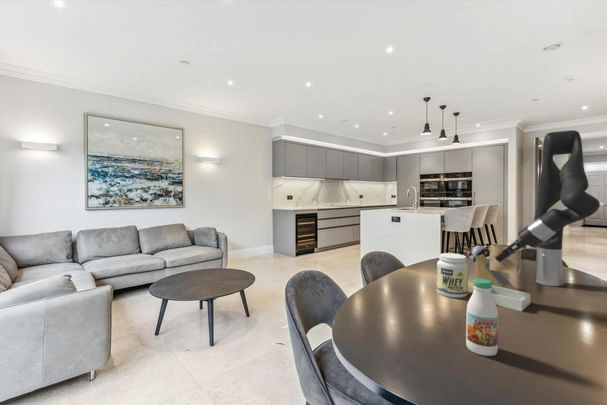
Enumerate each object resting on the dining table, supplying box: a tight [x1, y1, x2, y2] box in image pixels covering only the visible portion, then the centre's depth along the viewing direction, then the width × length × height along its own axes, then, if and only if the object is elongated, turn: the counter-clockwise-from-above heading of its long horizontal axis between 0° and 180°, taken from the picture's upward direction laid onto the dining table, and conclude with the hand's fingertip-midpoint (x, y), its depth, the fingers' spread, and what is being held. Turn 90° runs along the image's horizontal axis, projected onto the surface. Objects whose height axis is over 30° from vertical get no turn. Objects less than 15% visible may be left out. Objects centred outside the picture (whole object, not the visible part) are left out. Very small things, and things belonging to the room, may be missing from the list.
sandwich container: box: [475, 254, 519, 291], centre depth 133 cm, size 9×15×15 cm, turn 41°
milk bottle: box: [465, 278, 499, 357], centre depth 84 cm, size 8×8×20 cm
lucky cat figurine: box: [466, 243, 490, 264], centre depth 175 cm, size 15×12×14 cm
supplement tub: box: [436, 252, 469, 299], centre depth 129 cm, size 12×12×17 cm
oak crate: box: [489, 243, 522, 275], centre depth 119 cm, size 9×6×10 cm, turn 40°
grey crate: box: [491, 285, 531, 312], centre depth 119 cm, size 15×12×4 cm
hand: (500, 258), depth 120 cm, fingers closed on oak crate, 6 cm apart
